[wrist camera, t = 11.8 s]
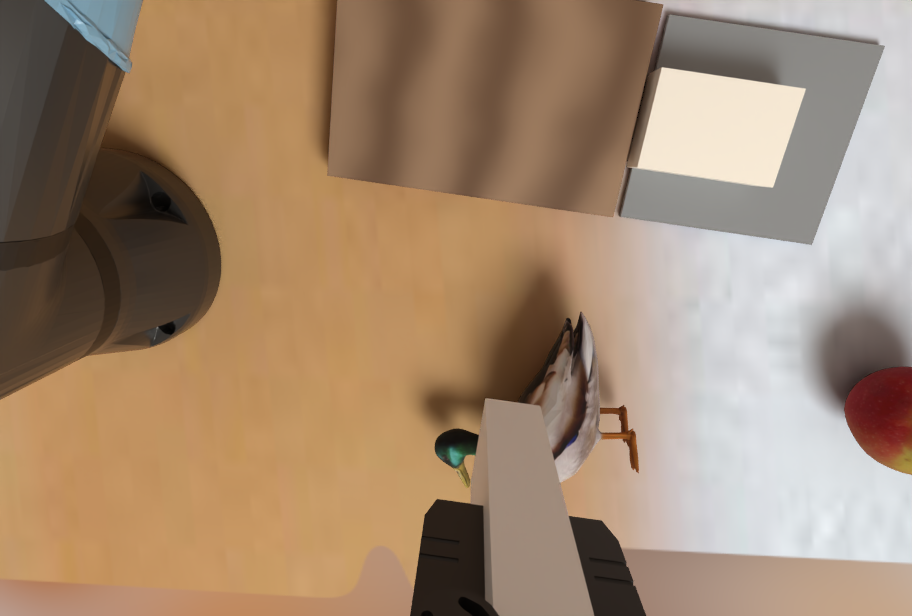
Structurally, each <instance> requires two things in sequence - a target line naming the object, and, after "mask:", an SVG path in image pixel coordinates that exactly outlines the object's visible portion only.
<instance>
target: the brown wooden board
mask: <svg viewBox="0 0 912 616" xmlns="http://www.w3.org/2000/svg"><path fill="white" fill-rule="evenodd" d="M662 8H663V4H657V3H650V2H643V1H637V0H337V13H336V31H335V49H334V67H333V85H332V102H331V120H330V138H329V156H328V174H327V176H334V177H341V178H347V179H354V180H361V181H368V182H375V183H382V184H389V185H395V186H402V187H409V188H416V189H423V190H430V191H436V192H443V193H450V194H457V195H464V196H471V197H477V198H484V199H491V200H498V201H505V202H512V203H519V204H525V205H532V206H539V207H546V208H553V209H560V210H566V211H573V212H580V213H587V214H594V215H601V216H607V217H613V216H614V211H615V207H616V203H617V199H618V194H619V190H620V186H621V182H622V178H623V173H624V169H625V165H626V161H627V156H628V152H629V148H630V144H631V139H632V135H633V131H634V127H635V123H636V118H637V114H638V110H639V106H640V101H641V97H642V93H643V89H644V84H645V80H646V76H647V72H648V68H649V63H650V59H651V55H652V51H653V46H654V42H655V38H656V34H657V29H658V25H659V21H660V17H661V13H662Z"/></svg>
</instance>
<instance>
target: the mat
mask: <svg viewBox="0 0 912 616" xmlns="http://www.w3.org/2000/svg"><path fill="white" fill-rule="evenodd" d="M884 47H885V46H882V45H875V44H868V43H861V42H855V41H848V40H841V39H834V38H827V37H820V36H814V35H807V34H800V33H793V32H786V31H779V30H773V29H766V28H759V27H752V26H745V25H738V24H732V23H725V22H718V21H711V20H704V19H697V18H691V17H684V16H677V15H670V14H669V15H668V16H667V19H666V23H665V27H664V32H663V36H662V40H661V44H660V48H659V52H658V57H657V61H656V65H655V69H654V71H655V70H657V69H659V68H661V67H664V68H671V69H677V70H684V71H691V72H697V73H704V74H711V75H717V76H724V77H731V78H738V79H744V80H751V81H758V82H764V83H771V84H778V85H784V86H791V87H798V88H805V89H806V90H805V93H804V96H803V99H802V102H801V105H800V108H799V111H798V114H797V117H796V120H795V123H794V126H793V129H792V132H791V135H790V138H789V141H788V144H787V147H786V150H785V153H784V156H783V159H782V162H781V165H780V168H779V171H778V174H777V177H776V180H775V183H774V186H773V188H771V187H760V186H751V185H744V184H737V183H731V182H724V181H717V180H711V179H704V178H697V177H690V176H684V175H677V174H670V173H664V172H657V171H650V170H643V169H637V168H631V169H630V173H629V177H628V182H627V186H626V190H625V194H624V198H623V202H622V207H621V211H620V215H619V216H620V217H626V218H632V219H639V220H646V221H653V222H660V223H667V224H674V225H680V226H687V227H694V228H701V229H708V230H715V231H721V232H728V233H735V234H742V235H749V236H756V237H762V238H769V239H776V240H783V241H790V242H797V243H804V244H810V245H812V243H813V240H814V237H815V235H816V232H817V229H818V227H819V224H820V221H821V218H822V216H823V213H824V210H825V207H826V205H827V202H828V199H829V197H830V194H831V191H832V188H833V186H834V183H835V180H836V178H837V175H838V172H839V169H840V167H841V164H842V161H843V158H844V156H845V153H846V150H847V148H848V145H849V142H850V139H851V137H852V134H853V131H854V129H855V126H856V123H857V120H858V118H859V115H860V112H861V109H862V107H863V104H864V101H865V99H866V96H867V93H868V90H869V88H870V85H871V82H872V79H873V77H874V74H875V71H876V69H877V66H878V63H879V60H880V58H881V55H882V52H883V50H884Z"/></svg>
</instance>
